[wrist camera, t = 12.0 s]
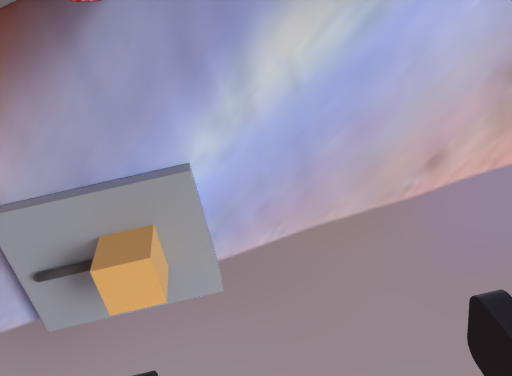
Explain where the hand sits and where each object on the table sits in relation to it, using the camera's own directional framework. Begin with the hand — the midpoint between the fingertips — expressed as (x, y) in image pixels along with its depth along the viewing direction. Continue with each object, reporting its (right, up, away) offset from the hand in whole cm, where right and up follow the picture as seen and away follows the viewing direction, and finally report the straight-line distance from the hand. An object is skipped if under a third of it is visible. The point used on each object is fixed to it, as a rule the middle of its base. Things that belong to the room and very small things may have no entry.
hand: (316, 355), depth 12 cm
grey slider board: (-15, -2, +33) cm, 36 cm away
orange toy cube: (-13, -2, +32) cm, 34 cm away
